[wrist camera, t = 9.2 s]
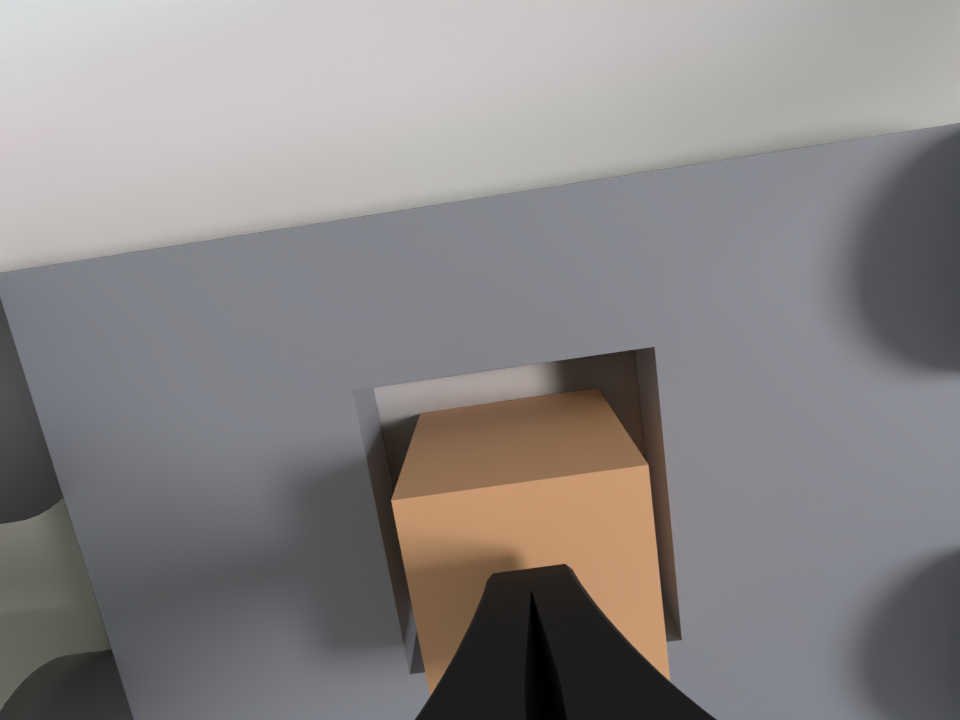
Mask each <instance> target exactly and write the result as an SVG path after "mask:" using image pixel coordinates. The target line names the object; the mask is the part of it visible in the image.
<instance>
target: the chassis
mask: <svg viewBox="0 0 960 720" xmlns="http://www.w3.org/2000/svg"><path fill="white" fill-rule="evenodd" d="M628 350H635V358H636V368H637V378H638V388H639V398H640V408H641V418H642V428H643V438H644V448H645V458H646V462H647V463H648V465H649V475H650V485H651V495H652V505H653V514H654V524H655V534H656V544H657V554H658V564H659V574H660V584H661V593H662V603H663V613H664V623H665V633H666V643H667V653H668V663H669V672H670V682H671V683H672V684H674V685H675V686H676V687H677V688H678V689H679V690H680V691H682V692H683V693H684V694H685V695H686V696H688V697H689V698H690V699H691V700H693V701H694V702H695V703H696V704H697V705H699V706H700V707H701V708H702V709H704V710H705V711H706V712H707V713H709V714H710V715H711V716H713V717H714V718H715V719H717V720H960V123H957V124H951V125H945V126H938V127H932V128H925V129H919V130H913V131H906V132H900V133H893V134H887V135H880V136H874V137H868V138H861V139H855V140H848V141H842V142H836V143H829V144H823V145H816V146H810V147H804V148H797V149H791V150H784V151H778V152H772V153H765V154H759V155H752V156H746V157H740V158H733V159H727V160H720V161H714V162H708V163H701V164H695V165H688V166H682V167H676V168H669V169H663V170H656V171H650V172H644V173H637V174H631V175H624V176H618V177H612V178H605V179H599V180H592V181H586V182H580V183H573V184H567V185H560V186H554V187H548V188H541V189H535V190H528V191H522V192H516V193H509V194H503V195H496V196H490V197H484V198H477V199H471V200H464V201H458V202H452V203H445V204H439V205H432V206H426V207H419V208H413V209H407V210H400V211H394V212H387V213H381V214H375V215H368V216H362V217H355V218H349V219H343V220H336V221H330V222H323V223H317V224H311V225H304V226H298V227H291V228H285V229H279V230H272V231H266V232H259V233H253V234H247V235H240V236H234V237H227V238H221V239H215V240H208V241H202V242H195V243H189V244H183V245H176V246H170V247H163V248H157V249H151V250H144V251H138V252H131V253H125V254H119V255H112V256H106V257H99V258H93V259H87V260H80V261H74V262H67V263H61V264H55V265H48V266H42V267H35V268H29V269H23V270H16V271H10V272H3V273H0V524H2V523H9V522H15V521H21V520H26V519H29V518H31V517H34V516H37V515H39V514H41V513H43V512H44V511H46V510H48V509H49V508H51V507H52V506H53V505H55V504H56V503H57V502H59V501H60V499H61V498H62V497H64V500H65V504H66V507H67V510H68V513H69V516H70V519H71V522H72V526H73V529H74V532H75V535H76V538H77V541H78V545H79V548H80V551H81V554H82V557H83V560H84V564H85V567H86V570H87V573H88V576H89V579H90V583H91V586H92V589H93V592H94V595H95V598H96V602H97V605H98V608H99V611H100V614H101V617H102V620H103V624H104V627H105V630H106V633H107V636H108V639H109V643H110V646H111V649H112V650H105V651H97V652H89V653H82V654H74V655H66V656H62V657H59V658H56V659H54V660H52V661H50V662H48V663H46V664H44V665H43V666H41V667H40V668H38V669H37V670H35V671H34V672H33V673H32V674H31V675H30V676H29V677H28V678H26V679H25V680H24V681H23V683H22V684H21V685H20V686H19V687H18V688H17V689H16V690H15V691H14V693H13V694H12V696H11V697H10V698H9V700H8V701H7V702H6V704H5V705H4V707H3V708H2V710H1V712H0V720H415V718H416V717H417V716H418V714H419V713H420V711H421V710H422V708H423V707H424V705H425V704H426V702H427V701H428V699H429V697H430V694H429V689H428V684H427V679H426V674H425V669H424V664H423V658H422V653H421V648H420V643H419V638H418V633H417V628H416V623H415V618H414V613H413V608H412V603H411V598H410V593H409V588H408V583H407V578H406V573H405V568H404V563H403V558H402V553H401V548H400V543H399V538H398V533H397V528H396V523H395V518H394V513H393V507H392V502H391V499H392V496H393V488H392V483H391V477H390V472H389V467H388V462H387V457H386V452H385V447H384V441H383V436H382V431H381V426H380V421H379V416H378V411H377V405H376V400H375V395H374V390H373V387H380V386H387V385H394V384H401V383H407V382H414V381H421V380H428V379H435V378H442V377H449V376H456V375H463V374H470V373H476V372H483V371H490V370H497V369H504V368H511V367H518V366H525V365H532V364H539V363H546V362H552V361H559V360H566V359H573V358H580V357H587V356H594V355H601V354H608V353H615V352H621V351H628Z"/></svg>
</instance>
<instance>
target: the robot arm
mask: <svg viewBox="0 0 960 720" xmlns="http://www.w3.org/2000/svg"><path fill="white" fill-rule="evenodd" d="M415 720H717V719H715V718H714V717H713V716H711V715H710V714H709V713H707V712H706V711H705V710H704V709H702V708H701V707H700V706H699V705H697V704H696V703H695V702H694V701H693V700H691V699H690V698H689V697H688V696H686V695H685V694H684V693H683V692H682V691H680V690H679V689H678V688H677V687H676V686H675V685H674V684H672V683H671V682H670V681H669V680H668V679H667V678H666V677H665V676H664V675H662V674H661V673H660V672H659V671H658V670H657V669H656V668H655V667H654V666H653V665H652V664H651V663H650V662H649V661H648V660H647V659H646V658H645V657H644V656H643V655H642V654H641V653H640V652H639V651H638V650H637V649H636V648H635V647H634V646H633V645H632V644H631V643H630V642H629V641H628V640H627V639H626V638H625V637H624V636H623V634H622V633H621V632H620V631H619V630H618V629H617V628H616V627H615V626H614V624H613V623H612V622H611V621H610V620H609V619H608V618H607V617H606V615H605V614H604V613H603V612H602V610H601V609H600V608H599V607H598V606H597V604H596V603H595V602H594V600H593V599H592V598H591V596H590V595H589V594H588V593H587V591H586V590H585V588H584V587H583V586H582V584H581V583H580V581H579V579H578V578H577V576H576V575H575V573H574V571H573V569H572V568H570V567H569V566H568V565H566V564H560V565H552V566H544V567H537V568H529V569H522V570H514V571H507V572H499V573H493V574H492V575H491V576H490V577H489V579H488V580H487V582H486V586H485V589H484V592H483V595H482V597H481V600H480V602H479V605H478V607H477V610H476V612H475V614H474V616H473V619H472V621H471V623H470V625H469V627H468V629H467V631H466V633H465V635H464V637H463V639H462V641H461V643H460V645H459V647H458V649H457V651H456V653H455V655H454V657H453V659H452V661H451V662H450V664H449V666H448V667H447V669H446V671H445V672H444V674H443V676H442V678H441V679H440V681H439V683H438V684H437V686H436V688H435V689H434V691H433V693H432V694H431V696H430V697H429V699H428V701H427V702H426V704H425V705H424V707H423V708H422V710H421V711H420V713H419V714H418V716H417V717H416V718H415Z"/></svg>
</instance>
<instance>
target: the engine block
mask: <svg viewBox="0 0 960 720" xmlns="http://www.w3.org/2000/svg"><path fill="white" fill-rule="evenodd" d="M391 502H392V507H393V513H394V518H395V523H396V528H397V533H398V538H399V543H400V548H401V553H402V558H403V563H404V568H405V573H406V578H407V583H408V588H409V593H410V598H411V603H412V608H413V613H414V618H415V623H416V628H417V633H418V638H419V643H420V648H421V653H422V658H423V664H424V669H425V674H426V679H427V684H428V689H429V694H430V696H431V694H432V693H433V691H434V689H435V688H436V686H437V684H438V683H439V681H440V679H441V678H442V676H443V674H444V672H445V671H446V669H447V667H448V666H449V664H450V662H451V661H452V659H453V657H454V655H455V653H456V651H457V649H458V647H459V645H460V643H461V641H462V639H463V637H464V635H465V633H466V631H467V629H468V627H469V625H470V623H471V621H472V619H473V616H474V614H475V612H476V610H477V607H478V605H479V602H480V600H481V597H482V595H483V592H484V589H485V586H486V582H487V580H488V579H489V577H490V576H491V575H492V574H493V573H499V572H507V571H514V570H522V569H529V568H537V567H544V566H552V565H560V564H566V565H568V566H569V567H570V568H572V569H573V571H574V573H575V575H576V576H577V578H578V579H579V581H580V583H581V584H582V586H583V587H584V588H585V590H586V591H587V593H588V594H589V595H590V596H591V598H592V599H593V600H594V602H595V603H596V604H597V606H598V607H599V608H600V609H601V610H602V612H603V613H604V614H605V615H606V617H607V618H608V619H609V620H610V621H611V622H612V623H613V624H614V626H615V627H616V628H617V629H618V630H619V631H620V632H621V633H622V634H623V636H624V637H625V638H626V639H627V640H628V641H629V642H630V643H631V644H632V645H633V646H634V647H635V648H636V649H637V650H638V651H639V652H640V653H641V654H642V655H643V656H644V657H645V658H646V659H647V660H648V661H649V662H650V663H651V664H652V665H653V666H654V667H655V668H656V669H657V670H658V671H659V672H660V673H661V674H662V675H664V676H665V677H666V678H667V679H668V680H669V681H670V672H669V663H668V653H667V643H666V633H665V623H664V613H663V603H662V593H661V584H660V574H659V564H658V554H657V544H656V534H655V524H654V514H653V505H652V495H651V485H650V475H649V465H648V463H647V462H646V460H645V459H644V457H643V456H642V454H641V453H640V451H639V450H638V448H637V447H636V445H635V444H634V442H633V441H632V439H631V438H630V436H629V434H628V433H627V431H626V430H625V428H624V427H623V425H622V424H621V422H620V421H619V419H618V418H617V416H616V415H615V413H614V412H613V410H612V409H611V407H610V406H609V404H608V403H607V401H606V400H605V398H604V397H603V395H602V394H601V392H600V390H599V389H598V388H591V389H584V390H577V391H571V392H564V393H557V394H550V395H543V396H536V397H529V398H522V399H515V400H509V401H502V402H495V403H488V404H481V405H474V406H467V407H460V408H453V409H446V410H440V411H433V412H426V413H420V416H419V419H418V422H417V425H416V428H415V431H414V434H413V437H412V440H411V443H410V446H409V449H408V452H407V455H406V458H405V461H404V464H403V467H402V470H401V473H400V476H399V479H398V481H397V484H396V487H395V490H394V493H393V496H392V499H391Z"/></svg>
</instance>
